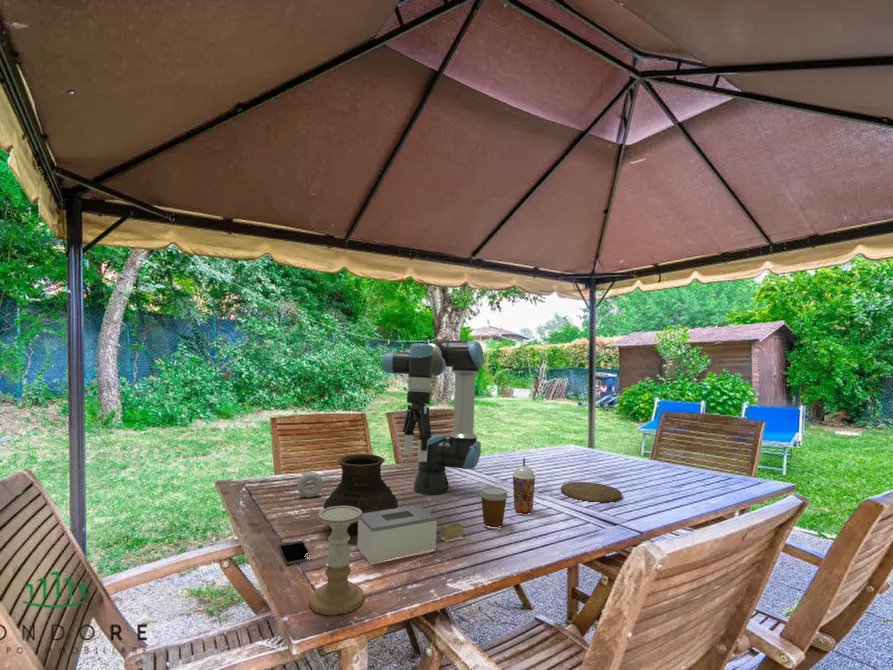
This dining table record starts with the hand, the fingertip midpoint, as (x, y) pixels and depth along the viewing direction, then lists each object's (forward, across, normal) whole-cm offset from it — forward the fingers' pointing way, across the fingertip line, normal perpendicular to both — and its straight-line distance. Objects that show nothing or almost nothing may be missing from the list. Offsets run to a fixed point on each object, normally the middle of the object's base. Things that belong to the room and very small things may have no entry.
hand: (414, 458), depth 141 cm
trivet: (+18, -20, +89) cm, 93 cm away
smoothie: (+21, -10, +48) cm, 53 cm away
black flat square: (+28, -3, -33) cm, 43 cm away
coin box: (+26, +5, -6) cm, 27 cm away
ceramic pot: (+25, -16, -12) cm, 32 cm away
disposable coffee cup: (+23, -2, +31) cm, 38 cm away
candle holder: (+29, +26, -26) cm, 47 cm away
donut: (+23, -53, -24) cm, 63 cm away
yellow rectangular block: (+24, +3, +13) cm, 28 cm away
